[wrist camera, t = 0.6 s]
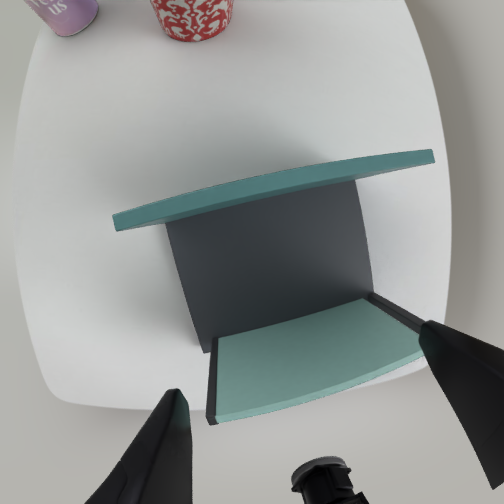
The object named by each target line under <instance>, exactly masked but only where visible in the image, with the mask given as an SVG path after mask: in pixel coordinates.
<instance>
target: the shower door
mask: <svg viewBox="0 0 504 504" xmlns="http://www.w3.org/2000/svg"><path fill="white" fill-rule="evenodd" d="M418 338H419V335H418V334H417V333H415V332H414V331H412V330H411V329H409V328H408V327H406V326H405V325H403V324H402V323H400V322H398V321H397V320H395V319H394V318H392V317H391V316H389V315H388V314H386V313H385V312H383V311H382V310H380V309H379V308H377V307H375V306H374V305H372V304H371V303H369V302H368V301H366V300H365V299H363V298H362V299H359V300H356V301H353V302H350V303H346V304H343V305H340V306H337V307H334V308H330V309H327V310H324V311H321V312H317V313H314V314H310V315H307V316H304V317H300V318H296V319H293V320H289V321H286V322H282V323H278V324H275V325H271V326H267V327H263V328H259V329H255V330H251V331H247V332H243V333H239V334H235V335H230V336H226V337H222V338H218V337H217V338H213V339H212V344H211V355H210V367H209V379H208V391H207V404H206V419H207V421H208V423H209V425H216V424H219V423H222V422H227V421H232V420H237V419H242V418H247V417H252V416H256V415H261V414H265V413H269V412H273V411H277V410H281V409H285V408H288V407H292V406H296V405H299V404H302V403H306V402H309V401H312V400H316V399H319V398H322V397H325V396H328V395H331V394H334V393H337V392H340V391H343V390H345V389H348V388H351V387H353V386H356V385H359V384H361V383H364V382H366V381H369V380H371V379H374V378H376V377H379V376H381V375H383V374H386V373H388V372H390V371H393V370H395V369H397V368H399V367H401V366H404V365H406V364H408V363H410V362H412V361H414V360H416V359H418V358H420V357H422V356H424V353H423V351H422V349H421V347H420V345H419V342H418Z"/></svg>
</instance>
